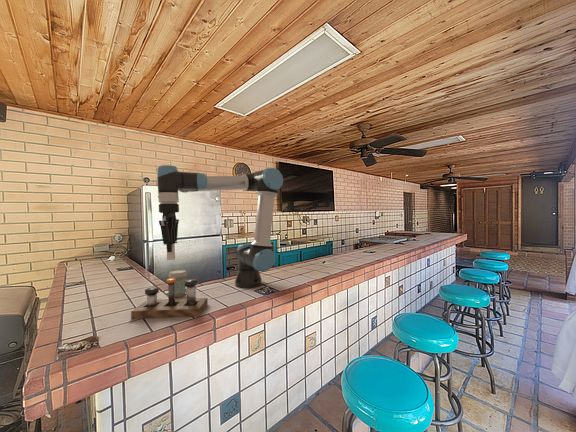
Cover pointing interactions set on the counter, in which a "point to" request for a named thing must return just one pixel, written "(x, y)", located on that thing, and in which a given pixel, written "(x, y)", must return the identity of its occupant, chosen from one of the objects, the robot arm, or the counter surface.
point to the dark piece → (171, 290)
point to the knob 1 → (151, 296)
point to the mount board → (170, 309)
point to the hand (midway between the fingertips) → (171, 259)
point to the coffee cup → (179, 281)
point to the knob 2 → (191, 291)
